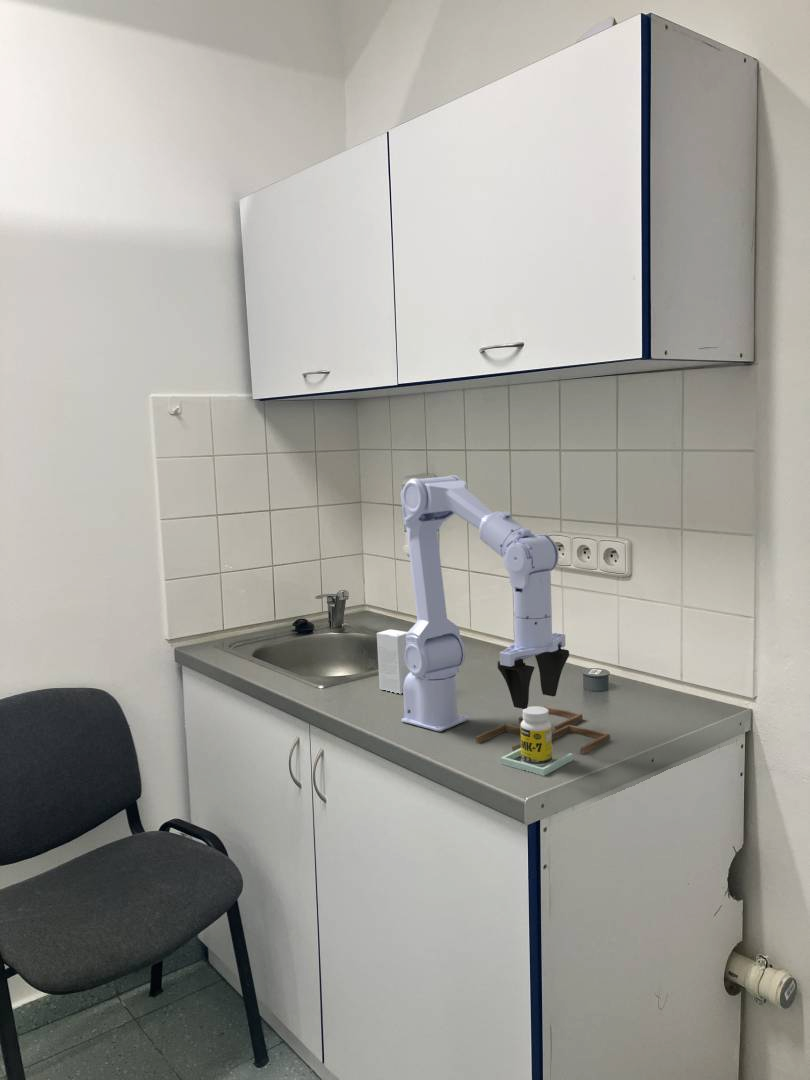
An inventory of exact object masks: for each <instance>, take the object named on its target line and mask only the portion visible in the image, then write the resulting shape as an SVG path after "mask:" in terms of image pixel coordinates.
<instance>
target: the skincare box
mask: <svg viewBox="0 0 810 1080" xmlns="http://www.w3.org/2000/svg"><path fill="white" fill-rule="evenodd" d="M407 632H408V631H404V630H403V631H402V630H397V629H386V630H383V631H379V632H376V644H377V645H376V646H377V663H378V682H379V683H378V684H379V690H380V689H382V690H386V691H385V692H387V691H390V692H389V693H392V692H394V693H393V694H397V693H399V694H398V695H403V694H402V693H403V685H404V681H405V678H406V676H407V675H408V674H409V673H410V671H409V669H408V667H407V665H406V662H405V649H406V634H407ZM382 690H381V691H382Z"/></svg>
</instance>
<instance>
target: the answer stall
mask: <svg viewBox="0 0 810 1080" xmlns="http://www.w3.org/2000/svg"><path fill="white" fill-rule="evenodd" d="M519 756H520V757H521V748H520V749H518V750H515V751H513V752H512V751H511V752H510V753H508V754H506V755H504V756H501V757H500V764H501V765H503V766H508V767H510V768H514V769H518V770H521V769H522V770H521V771H524V770H526V771H525V772H528V771H530V772H529V773H531V772H533V773H532V774H535V773H536V775H538V774H539V775H540V776H543V777H544V776H546V775H549V774H550V773H552V772H553V771H556V770H557V769H559V768H561V767H563V766H564V765H566V764H568V763H570V762H572V761H574V754H573V753H571V752H568V754H566V755H564V756H562V757H560V758H559V759H556V760H555V761H552V762H551V763H550V764H549V765H547V766H544V767H538V766H534V765H531V764H527V763H523V762H522V761H519V760H516V759H518V758H519ZM517 757H518V758H517ZM539 775H538V776H539Z"/></svg>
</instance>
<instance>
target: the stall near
mask: <svg viewBox="0 0 810 1080" xmlns="http://www.w3.org/2000/svg"><path fill="white" fill-rule="evenodd" d="M504 732H508V733H509V732H510V733H513V734H517V735H520V736H521V726H515V725H511V724H508V723H507V724H506V723H504V724H501V725H500V726H497V727H495V728H493V729H491V730H488V731H486V732H483V733H480V734H479V735H477V736H475V743H476V744H480V743H483V742H484V741H486V740H489V739H492V738H493V737H495V736H497V735H500V734H502V733H504ZM520 748H521V741H520V742H519V743H518V742H517V744H514V745H512V748H511V752H513V751H515V750H518V749H520Z"/></svg>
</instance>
